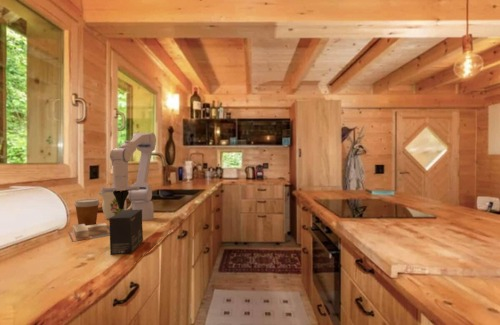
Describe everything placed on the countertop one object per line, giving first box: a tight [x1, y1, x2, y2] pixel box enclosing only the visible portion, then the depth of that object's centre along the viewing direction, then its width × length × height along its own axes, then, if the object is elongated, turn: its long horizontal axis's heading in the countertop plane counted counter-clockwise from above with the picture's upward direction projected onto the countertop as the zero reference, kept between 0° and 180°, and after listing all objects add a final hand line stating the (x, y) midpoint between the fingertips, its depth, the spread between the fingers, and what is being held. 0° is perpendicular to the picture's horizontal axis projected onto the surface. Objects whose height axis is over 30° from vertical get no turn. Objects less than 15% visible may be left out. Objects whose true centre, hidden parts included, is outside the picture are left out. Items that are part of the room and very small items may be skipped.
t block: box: [72, 222, 108, 240], centre depth 106 cm, size 11×12×3 cm
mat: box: [67, 225, 110, 243], centre depth 108 cm, size 21×16×1 cm
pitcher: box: [97, 191, 132, 220], centre depth 136 cm, size 11×18×14 cm, turn 139°
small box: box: [108, 209, 144, 256], centre depth 91 cm, size 13×7×12 cm, turn 7°
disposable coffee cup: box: [74, 198, 101, 226], centre depth 117 cm, size 10×10×12 cm
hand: (121, 208), depth 112 cm, fingers closed
